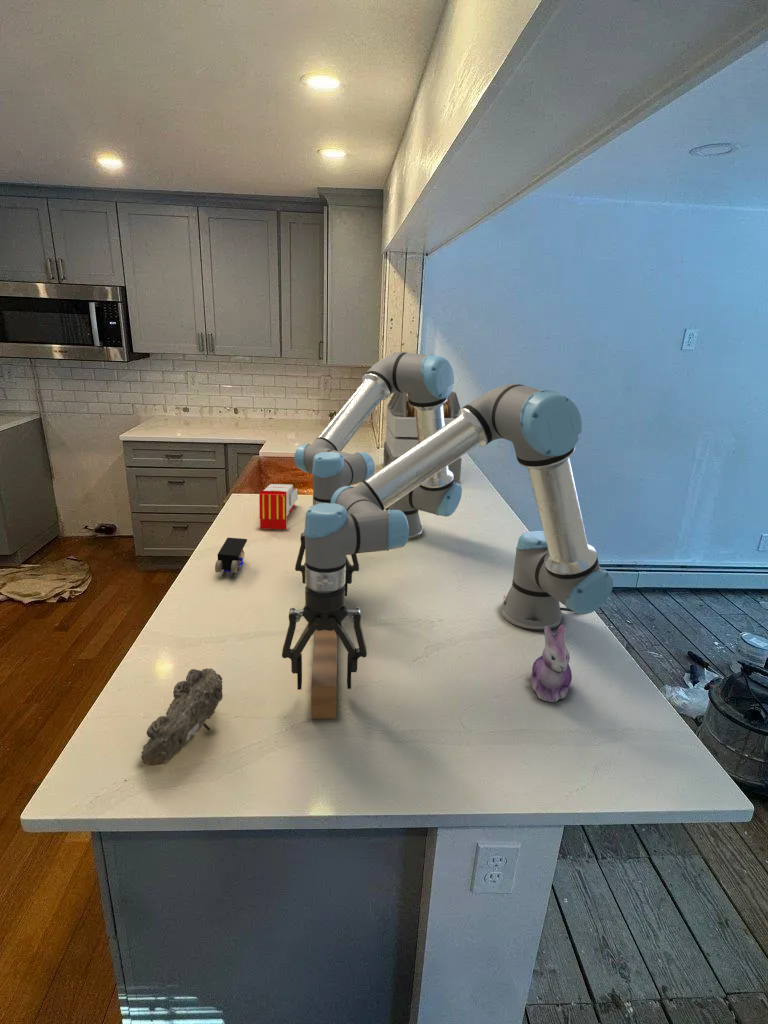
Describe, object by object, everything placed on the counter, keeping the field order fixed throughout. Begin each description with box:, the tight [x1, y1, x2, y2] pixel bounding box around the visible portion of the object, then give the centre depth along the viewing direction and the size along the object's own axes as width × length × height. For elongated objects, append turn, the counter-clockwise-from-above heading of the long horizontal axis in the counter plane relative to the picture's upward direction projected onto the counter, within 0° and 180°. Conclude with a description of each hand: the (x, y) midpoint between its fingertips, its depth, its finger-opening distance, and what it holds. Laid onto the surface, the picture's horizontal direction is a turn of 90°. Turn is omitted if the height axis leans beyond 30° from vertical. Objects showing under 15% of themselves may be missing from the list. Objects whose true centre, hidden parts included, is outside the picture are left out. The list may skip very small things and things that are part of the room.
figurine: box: [530, 624, 573, 703], centre depth 118 cm, size 9×10×15 cm
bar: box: [310, 629, 338, 720], centre depth 132 cm, size 52×5×8 cm, turn 5°
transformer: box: [383, 390, 463, 484], centre depth 268 cm, size 34×33×41 cm
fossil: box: [140, 667, 224, 767], centre depth 103 cm, size 22×10×15 cm
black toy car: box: [214, 537, 248, 578], centre depth 166 cm, size 7×8×15 cm
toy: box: [258, 483, 299, 530], centre depth 210 cm, size 12×13×30 cm
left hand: (327, 593), depth 150 cm, fingers open, 9 cm apart
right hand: (324, 684), depth 114 cm, fingers open, 9 cm apart
